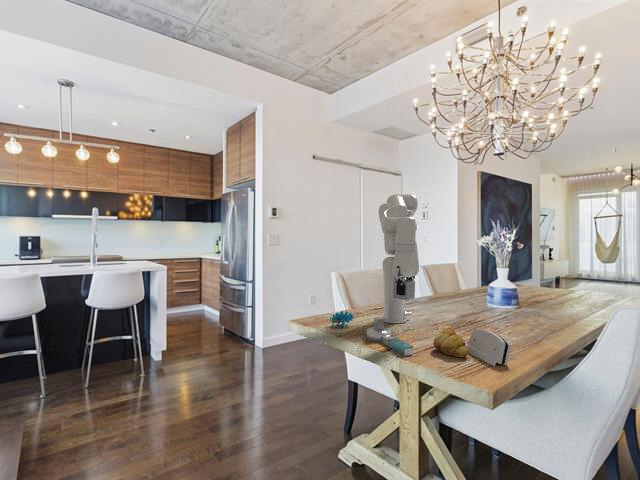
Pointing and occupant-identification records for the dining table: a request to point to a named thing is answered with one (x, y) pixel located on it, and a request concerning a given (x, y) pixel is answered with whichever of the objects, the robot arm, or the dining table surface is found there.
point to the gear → (341, 318)
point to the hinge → (488, 347)
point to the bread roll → (450, 343)
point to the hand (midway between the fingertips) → (404, 293)
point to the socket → (405, 290)
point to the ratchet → (388, 338)
